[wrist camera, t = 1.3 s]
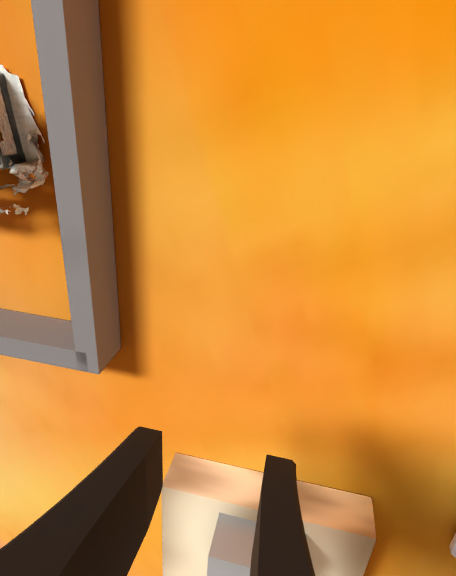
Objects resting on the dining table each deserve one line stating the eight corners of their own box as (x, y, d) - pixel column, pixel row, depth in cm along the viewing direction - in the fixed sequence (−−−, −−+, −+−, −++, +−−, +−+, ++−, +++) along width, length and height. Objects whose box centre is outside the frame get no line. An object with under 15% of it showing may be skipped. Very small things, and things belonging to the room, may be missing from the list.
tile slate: (306, 533, 22) (304, 582, 20) (294, 585, 24) (292, 634, 22) (219, 512, 23) (207, 556, 21) (215, 564, 25) (204, 609, 23)
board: (371, 497, 23) (376, 538, 21) (331, 621, 29) (331, 663, 27) (175, 452, 25) (161, 486, 23) (174, 576, 31) (163, 613, 29)
